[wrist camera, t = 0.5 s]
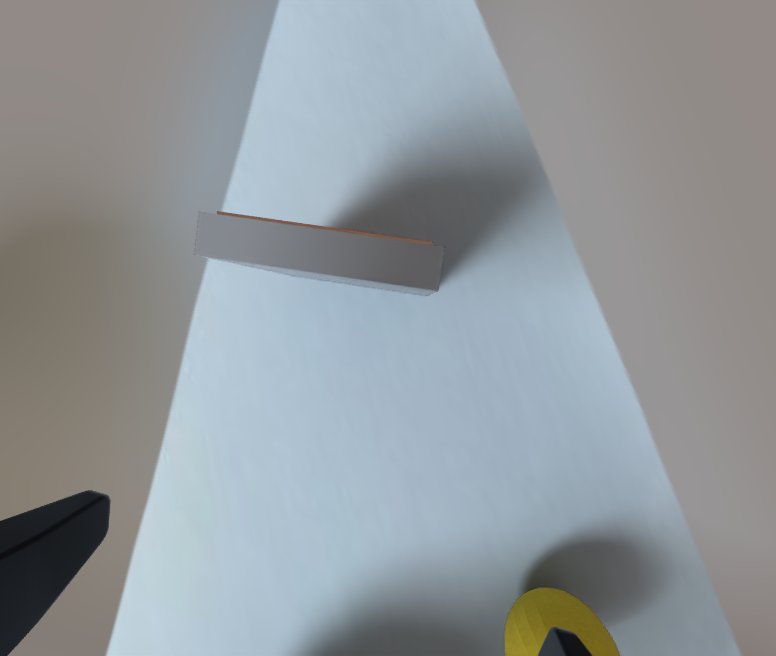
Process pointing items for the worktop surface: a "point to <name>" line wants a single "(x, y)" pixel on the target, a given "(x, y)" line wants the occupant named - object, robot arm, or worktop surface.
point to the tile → (321, 252)
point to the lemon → (553, 623)
